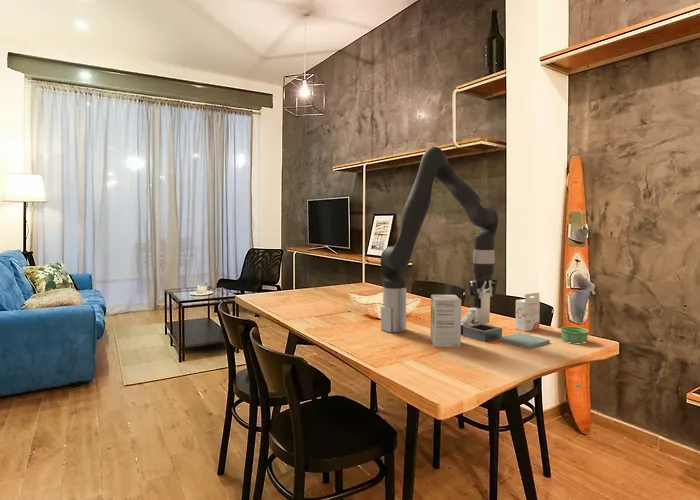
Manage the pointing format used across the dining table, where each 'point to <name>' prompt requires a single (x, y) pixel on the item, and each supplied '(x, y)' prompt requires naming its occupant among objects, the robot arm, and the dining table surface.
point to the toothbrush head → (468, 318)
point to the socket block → (482, 332)
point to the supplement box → (445, 321)
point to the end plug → (483, 308)
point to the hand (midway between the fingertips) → (482, 307)
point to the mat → (524, 340)
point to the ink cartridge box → (528, 312)
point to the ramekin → (574, 334)
